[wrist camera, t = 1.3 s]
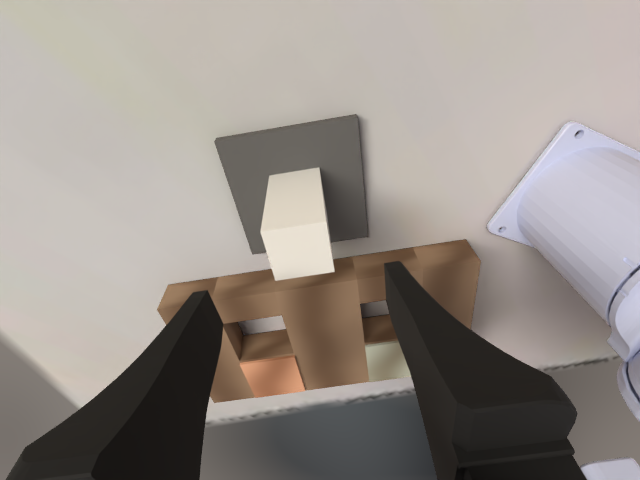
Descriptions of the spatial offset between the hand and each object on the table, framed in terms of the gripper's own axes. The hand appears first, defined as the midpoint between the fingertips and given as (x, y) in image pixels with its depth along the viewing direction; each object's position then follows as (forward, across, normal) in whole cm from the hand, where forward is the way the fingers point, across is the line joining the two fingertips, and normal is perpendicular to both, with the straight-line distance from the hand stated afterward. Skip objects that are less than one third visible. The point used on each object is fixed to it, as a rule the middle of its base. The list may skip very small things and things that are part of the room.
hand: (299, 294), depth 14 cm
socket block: (+9, 0, +12) cm, 15 cm away
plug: (+9, 0, 0) cm, 9 cm away
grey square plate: (+9, 0, 0) cm, 9 cm away
